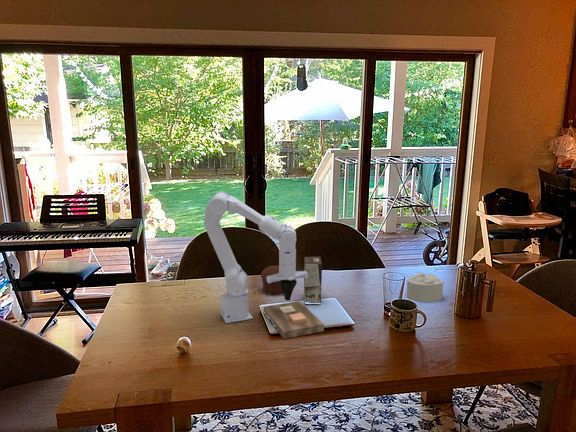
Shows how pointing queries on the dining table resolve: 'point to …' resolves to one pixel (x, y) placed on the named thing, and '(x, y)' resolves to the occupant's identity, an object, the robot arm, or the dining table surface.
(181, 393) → the dining table surface
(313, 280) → the coffee box
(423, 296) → the lumpy-topped squat cylinder
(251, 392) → the dining table surface
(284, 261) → the robot arm
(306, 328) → the key block
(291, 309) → the cream small block
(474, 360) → the dining table surface
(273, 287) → the muffin
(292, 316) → the terracotta key
